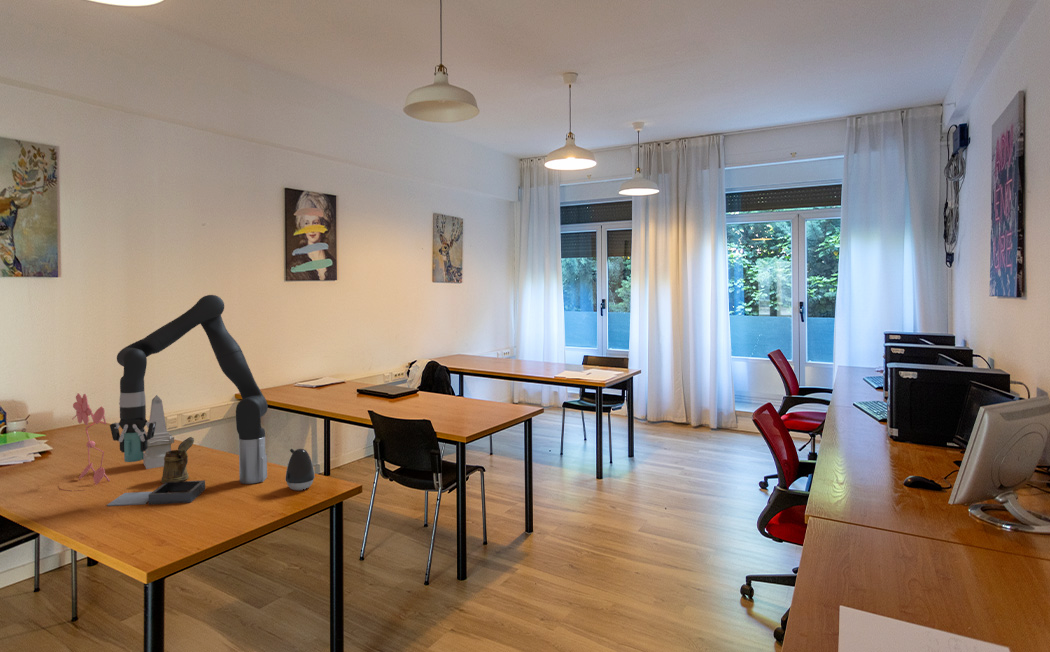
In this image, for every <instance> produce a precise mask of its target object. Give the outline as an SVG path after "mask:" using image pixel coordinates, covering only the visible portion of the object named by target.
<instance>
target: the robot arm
mask: <svg viewBox="0 0 1050 652" xmlns="http://www.w3.org/2000/svg"><path fill="white" fill-rule="evenodd" d="M224 311H225V302H224V300H223V299H222V298H221V297H220V296H218V295H216V294H207V295H204V296H202V297H201V298H200V299H198V301H196V303H195V304H194V305H193V306H191V308H189V309H188V310H186V311H185V312H184V313H182V314H181V315H179V316H178V317H176V318H174V319H173V320H171V321H169V322H167V323H166V324H164V325H162V326H161V327H159V328H158V329H155V330H154V331H153V332H151V333H150V334H148V335H146V336H145V337H143V338H142V339H140V340H138V341H135V342H133V343H130V344H129V345H127V346H125V347H123V348H122V349H120V351H119V352H118V353H117V355H116V362H117V363H118V365H120V366H121V367H123V375H122V377H120V379H119V380H120V381H119V390H120V391H119V401H118V402H119V403H118V406H119V418H120V419H119V422H113V423H111V424H109V428H110V432H111V435H112V437H111V438H112V440H113V441H117V442H119V451H120V452H121V453H122V454H124V433H138V436H140V439H141V452H144V453H145V451H146V449H147V448H148V440H149V439H151V438H153V437H154V431H155V426H156V422H149V421H148V420H147V418H146V417H147V414H146V413H147V412H146V411H147V409H146V408H147V406H146V393H145V376H146V371H147V366H148V365H147V364H148V363H147V361H148V359H147V357H149V356H151V355H155V354H158V353H160V352H162V351H163V350H165V349H166V348H168V347H170V346H171V345H172V344H174V343H176V342H177V341H178V340H180V339H181V338H182V337H184V336H185V335H186V334H188V333H189V332H190V331H191V330H192V329H194V328H196V327H197V326H199V325H200V326H201V327H202V329H203V331H204V332H205V333H206V336H207V338H208V341H209V343H210V344H209V345H210V347H211V348H212V351H213V353H214V356H215V359H216V361H217V363H218V365H219V368H220V370H221V371H222V373H223V374H224V375H225V376H226V377H227V378H228V379H229V380H230V381H231V383H232V384H234V385H235V387H236V388H237V390H238V392H239V394H240V397H241V400H239V402H238V403H237V404H236V408H235V424H236V431H237V434H238V459H239V462H238V463H239V469H238V470H239V472H238V473H239V476H238V477H239V483H240V484H242V485H243V484H244V485H245V484H246V485H250V484H251V485H252V484H258V483H263V482H264V481H265V480H266V479H267V478H268V455H267V453H266V430H265V428H264V427H262V421H261V419H262V417H264V416H265V415H266V414H267V412H268V406H269V405H268V402H267V399H266V397H265V396H264V393H262V391H261V389H260V387H259V385H258V383H257V382H256V380H255V377H254V376H253V373H252V371H251V368H250V367H249V364H248V362H247V359H246V357H245V354H244V352H243V350H242V349H241V346H240V345H239V343H238V342H237V340H236V339H235V338H234V337H233V336H232V335H231V334H230V333H229V331H228V329H227V328H226V325H225V322H224V321H223V318H222V314H223V312H224ZM145 427H146V428H145ZM119 428H121V429H122V431H121V433H120V430H119ZM145 429H147V431H146V430H145ZM141 431H143V432H141ZM146 432H148V433H147V435H146Z"/></svg>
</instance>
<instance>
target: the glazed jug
mask: <svg viewBox="0 0 1050 652" xmlns="http://www.w3.org/2000/svg"><path fill="white" fill-rule="evenodd" d="M141 432H143V431H141ZM144 453H145V451H144V452H141V439H140V436H138V433H124V452H123V456H124V458H123V459H124V462H125V463H134V462H141V461H143V459H144Z"/></svg>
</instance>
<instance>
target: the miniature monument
mask: <svg viewBox="0 0 1050 652" xmlns="http://www.w3.org/2000/svg"><path fill="white" fill-rule="evenodd" d="M150 405H151V406H150V412H149V413H150V414H149V420H148V422H156V426H155V431H154V437H153V438H151V439H149V440H148V448H147V449H146V451H144V459H143V460H142V461H143V462H142V463H143V465H144V467H145V469H146V470H149V469H154V468H155V469H156V468H161V467H162V468H164V461H165V460H164V457H165V454H166V452H167V451H172V444H174V443H175V436H172V434H171V432H168V429H167V423H166V418H165V412H164V405H163V401H162V399H161V398H160V397H159V396H158V394H156V395H155V396H154V397H153V398H152V399H151V404H150ZM147 433H148V431H146V435H147Z"/></svg>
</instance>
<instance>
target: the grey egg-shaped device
mask: <svg viewBox="0 0 1050 652" xmlns="http://www.w3.org/2000/svg"><path fill="white" fill-rule="evenodd" d="M289 451H290V453H291V455H290V458H289V460H288V463H287V467H286V471H285V482H286V484H287V486H288V488H289V489H290V490H293V491H304V490H306V488H307V489H308V488H310V487H311V486H312V485H313V483H314V479H315V477H316V476H315V468H314V464H313V461H312V458H311V456H310V454H309V452H308V451H307V450H306V449H305V448H297V449H293V448H291V449H289ZM303 489H304V490H303Z"/></svg>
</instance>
